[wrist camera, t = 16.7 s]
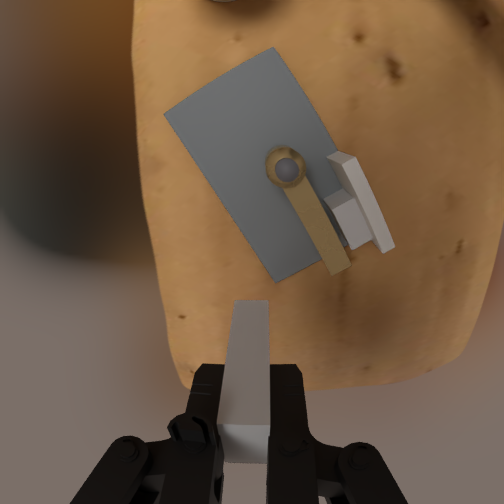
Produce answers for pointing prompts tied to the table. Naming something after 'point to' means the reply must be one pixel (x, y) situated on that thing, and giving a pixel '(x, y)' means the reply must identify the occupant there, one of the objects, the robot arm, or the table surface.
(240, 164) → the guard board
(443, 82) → the table surface
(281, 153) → the swing bar
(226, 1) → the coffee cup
